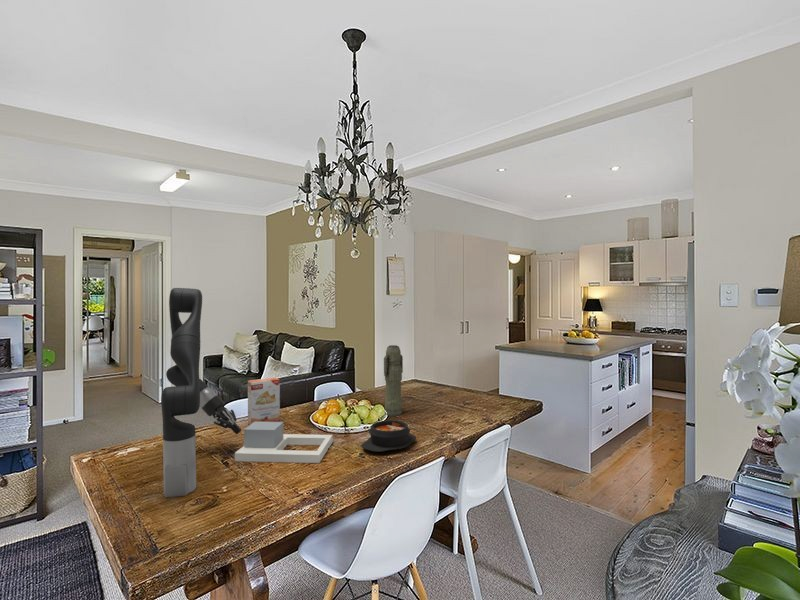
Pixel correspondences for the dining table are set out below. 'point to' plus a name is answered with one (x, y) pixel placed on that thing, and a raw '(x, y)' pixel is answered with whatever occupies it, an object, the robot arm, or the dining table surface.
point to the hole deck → (288, 455)
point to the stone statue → (393, 380)
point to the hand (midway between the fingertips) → (239, 432)
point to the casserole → (388, 436)
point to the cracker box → (264, 400)
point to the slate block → (263, 434)
